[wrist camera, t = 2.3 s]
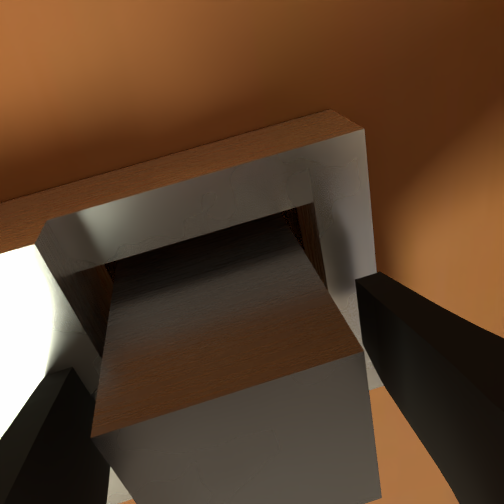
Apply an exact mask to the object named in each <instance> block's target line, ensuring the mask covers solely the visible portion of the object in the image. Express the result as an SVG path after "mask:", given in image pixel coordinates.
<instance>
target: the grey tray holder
mask: <svg viewBox="0 0 504 504" xmlns="http://www.w3.org/2000/svg"><path fill="white" fill-rule="evenodd" d="M295 207H296V208H297V213H298V218H299V223H300V229H301V234H302V239H303V245H304V250H305V254H306V256H307V257H308V259H309V261H310V262H311V264H312V266H313V267H314V269H315V271H316V272H317V274H318V276H319V277H320V279H321V280H322V282H323V284H324V285H325V287H326V289H327V290H328V292H329V294H330V295H331V297H332V299H333V300H334V302H335V304H336V305H337V307H338V309H339V310H340V312H341V314H342V315H343V317H344V319H345V320H346V322H347V323H348V325H349V327H350V328H351V330H352V332H353V333H354V335H355V337H356V338H357V340H358V342H359V343H360V345H361V347H362V348H363V350H364V354H365V362H366V371H367V379H368V387H369V390H372V389H375V388H378V387H381V386H384V385H383V383H382V381H381V380H380V378H379V376H378V374H377V372H376V370H375V368H374V366H373V364H372V362H371V360H370V358H369V356H368V354H367V352H366V350H365V348H364V346H363V344H362V336H361V328H360V319H359V311H358V302H357V294H356V286H355V279H358V278H361V277H365V276H368V275H371V274H374V273H377V270H376V259H375V247H374V235H373V223H372V211H371V200H370V188H369V176H368V164H367V153H366V141H365V129H364V128H362V127H361V126H359V125H357V124H356V123H354V122H352V121H351V120H349V119H347V118H346V117H344V116H342V115H340V114H339V113H337V112H335V111H334V110H332V109H329V110H325V111H322V112H318V113H315V114H311V115H308V116H304V117H301V118H297V119H294V120H290V121H287V122H283V123H280V124H276V125H273V126H269V127H266V128H262V129H259V130H255V131H252V132H248V133H245V134H241V135H237V136H234V137H230V138H227V139H223V140H220V141H216V142H213V143H209V144H206V145H202V146H199V147H195V148H192V149H188V150H185V151H181V152H178V153H174V154H171V155H167V156H164V157H160V158H157V159H153V160H150V161H146V162H143V163H139V164H136V165H132V166H129V167H125V168H122V169H118V170H115V171H111V172H108V173H104V174H101V175H97V176H94V177H90V178H87V179H83V180H80V181H76V182H73V183H69V184H66V185H62V186H59V187H55V188H51V189H48V190H44V191H41V192H37V193H34V194H30V195H27V196H23V197H20V198H16V199H13V200H9V201H6V202H2V203H0V439H1V437H2V436H3V434H4V433H5V431H6V430H7V429H8V427H9V426H10V424H11V423H12V421H13V420H14V419H15V417H16V416H17V414H18V413H19V411H20V410H21V408H22V407H23V406H24V404H25V403H26V401H27V400H28V398H29V397H30V396H31V394H32V393H33V391H34V390H35V389H36V387H37V386H38V384H39V383H40V382H41V380H42V379H43V378H44V377H45V375H47V374H51V373H54V372H57V371H60V370H64V369H67V368H70V367H73V368H74V370H75V371H76V373H77V374H78V376H79V377H80V379H81V381H82V382H83V384H84V385H85V387H86V388H87V390H88V392H89V393H90V395H91V396H92V398H93V399H94V401H95V402H96V398H97V391H98V384H99V378H100V371H101V364H102V358H103V351H104V344H105V338H106V331H107V325H108V318H109V311H110V305H111V298H112V291H113V285H114V283H113V281H112V279H111V277H110V275H109V273H108V271H107V269H106V267H105V265H104V264H106V263H109V262H113V261H116V260H119V259H123V258H126V257H129V256H133V255H136V254H140V253H143V252H146V251H150V250H153V249H156V248H160V247H163V246H167V245H170V244H173V243H177V242H180V241H184V240H187V239H190V238H194V237H197V236H200V235H204V234H207V233H211V232H214V231H217V230H221V229H224V228H228V227H231V226H234V225H238V224H241V223H244V222H248V221H251V220H255V219H258V218H261V217H265V216H268V215H271V214H275V213H278V212H282V211H285V210H288V209H292V208H295ZM131 499H133V498H132V497H131V495H130V494H129V492H128V491H127V489H126V488H125V487H124V485H123V484H122V482H121V481H120V479H119V478H118V477H117V475H116V474H115V472H114V471H113V470H112V468H111V467H110V476H109V486H108V496H107V504H118V503H121V502H125V501H128V500H131Z"/></svg>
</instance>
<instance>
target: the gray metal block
mask: <svg viewBox="0 0 504 504" xmlns="http://www.w3.org/2000/svg"><path fill="white" fill-rule="evenodd" d="M91 440H92V441H93V442H94V444H95V445H96V447H97V448H98V450H99V451H100V452H101V454H102V455H103V457H104V458H105V460H106V461H107V462H108V464H109V465H110V467H111V468H112V470H113V471H114V472H115V474H116V475H117V477H118V478H119V479H120V481H121V482H122V484H123V485H124V487H125V488H126V489H127V491H128V492H129V494H130V495H131V497H132V498H133V499H134V501H135V502H136V504H365V503H368V502H371V501H374V500H377V499H380V498H382V496H381V487H380V479H379V471H378V462H377V454H376V446H375V437H374V429H373V421H372V412H371V404H370V396H369V387H368V379H367V371H366V362H365V354H364V350H363V348H362V347H361V345H360V343H359V342H358V340H357V338H356V337H355V335H354V333H353V332H352V330H351V328H350V327H349V325H348V323H347V322H346V320H345V319H344V317H343V315H342V314H341V312H340V310H339V309H338V307H337V305H336V304H335V302H334V300H333V299H332V297H331V295H330V294H329V292H328V290H327V289H326V287H325V285H324V284H323V282H322V280H321V279H320V277H319V276H318V274H317V272H316V271H315V269H314V267H313V266H312V264H311V262H310V261H309V259H308V257H307V256H306V254H305V252H304V251H303V249H302V247H301V246H300V244H299V242H298V241H297V239H296V237H295V236H294V234H293V233H292V231H291V229H290V228H289V226H288V224H287V223H286V221H285V219H284V218H283V216H282V214H281V213H280V212H278V213H275V214H271V215H268V216H265V217H261V218H258V219H255V220H251V221H248V222H244V223H241V224H238V225H234V226H231V227H228V228H224V229H221V230H217V231H214V232H211V233H207V234H204V235H200V236H197V237H194V238H190V239H187V240H184V241H180V242H177V243H173V244H170V245H167V246H163V247H160V248H156V249H153V250H150V251H146V252H143V253H140V254H136V255H133V256H129V257H126V258H123V259H119V260H117V265H116V271H115V278H114V285H113V291H112V298H111V305H110V311H109V318H108V325H107V331H106V338H105V344H104V351H103V358H102V364H101V371H100V378H99V384H98V391H97V398H96V404H95V411H94V418H93V424H92V431H91Z"/></svg>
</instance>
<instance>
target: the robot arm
mask: <svg viewBox="0 0 504 504" xmlns="http://www.w3.org/2000/svg"><path fill="white" fill-rule="evenodd" d="M355 286H356V294H357V302H358V311H359V319H360V328H361V336H362V344H363V346H364V348H365V350H366V352H367V354H368V356H369V358H370V360H371V362H372V364H373V366H374V368H375V370H376V372H377V374H378V376H379V378H380V380H381V381H382V383H383V385H384V386H385V388H386V389H387V391H388V392H389V394H390V395H391V397H392V398H393V400H394V401H395V403H396V404H397V406H398V407H399V409H400V411H401V412H402V414H403V415H404V417H405V418H406V420H407V421H408V423H409V424H410V426H411V427H412V429H413V430H414V432H415V433H416V435H417V436H418V438H419V439H420V441H421V442H422V444H423V445H424V447H425V448H426V450H427V451H428V453H429V454H430V456H431V457H432V459H433V460H434V462H435V463H436V465H437V466H438V468H439V469H440V471H441V473H442V474H443V476H444V477H445V479H446V481H447V482H448V484H449V486H450V487H451V489H452V491H453V493H454V494H455V496H456V498H457V500H458V502H459V504H504V338H502V337H500V336H498V335H495V334H493V333H491V332H489V331H487V330H485V329H483V328H481V327H479V326H477V325H475V324H473V323H471V322H469V321H467V320H465V319H463V318H461V317H459V316H457V315H456V314H454V313H452V312H450V311H448V310H446V309H444V308H442V307H441V306H439V305H437V304H435V303H433V302H432V301H430V300H428V299H426V298H425V297H423V296H421V295H419V294H418V293H416V292H414V291H412V290H411V289H409V288H407V287H406V286H404V285H402V284H400V283H399V282H397V281H395V280H393V279H392V278H390V277H388V276H387V275H385V274H383V273H381V272H378V273H374V274H371V275H368V276H365V277H361V278H358V279H355ZM95 404H96V402H95V401H94V399H93V398H92V396H91V395H90V393H89V392H88V390H87V388H86V387H85V385H84V384H83V382H82V381H81V379H80V377H79V376H78V374H77V373H76V371H75V370H74V368H73V367H70V368H67V369H64V370H60V371H57V372H54V373H51V374H47V375H45V377H44V378H43V379H42V380H41V382H40V383H39V384H38V386H37V387H36V389H35V390H34V391H33V393H32V394H31V396H30V397H29V398H28V400H27V401H26V403H25V404H24V406H23V407H22V408H21V410H20V411H19V413H18V414H17V416H16V417H15V419H14V420H13V421H12V423H11V424H10V426H9V427H8V429H7V430H6V431H5V433H4V434H3V436H2V437H1V439H0V504H107V496H108V486H109V476H110V465H109V464H108V462H107V461H106V460H105V458H104V457H103V455H102V454H101V452H100V451H99V450H98V448H97V447H96V445H95V444H94V442H93V441H92V440H91V431H92V424H93V418H94V411H95Z"/></svg>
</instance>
